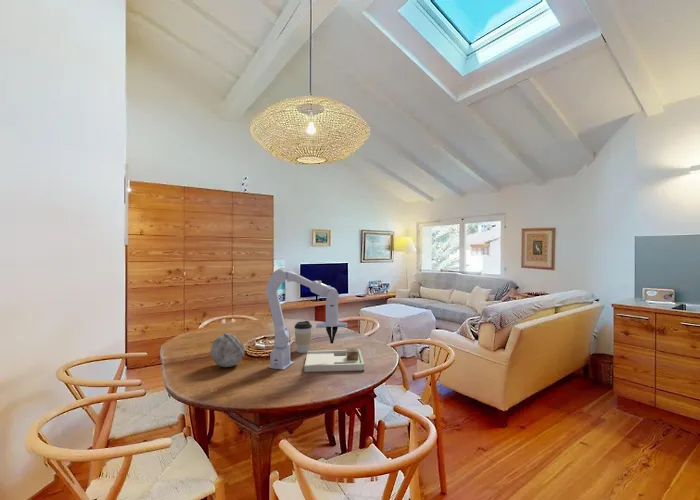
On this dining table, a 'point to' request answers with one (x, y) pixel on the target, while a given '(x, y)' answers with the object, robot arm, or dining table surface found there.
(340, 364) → the board
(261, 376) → the dining table surface
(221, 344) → the decorative orb
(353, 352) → the walnut block
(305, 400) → the dining table surface
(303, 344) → the coffee cup
